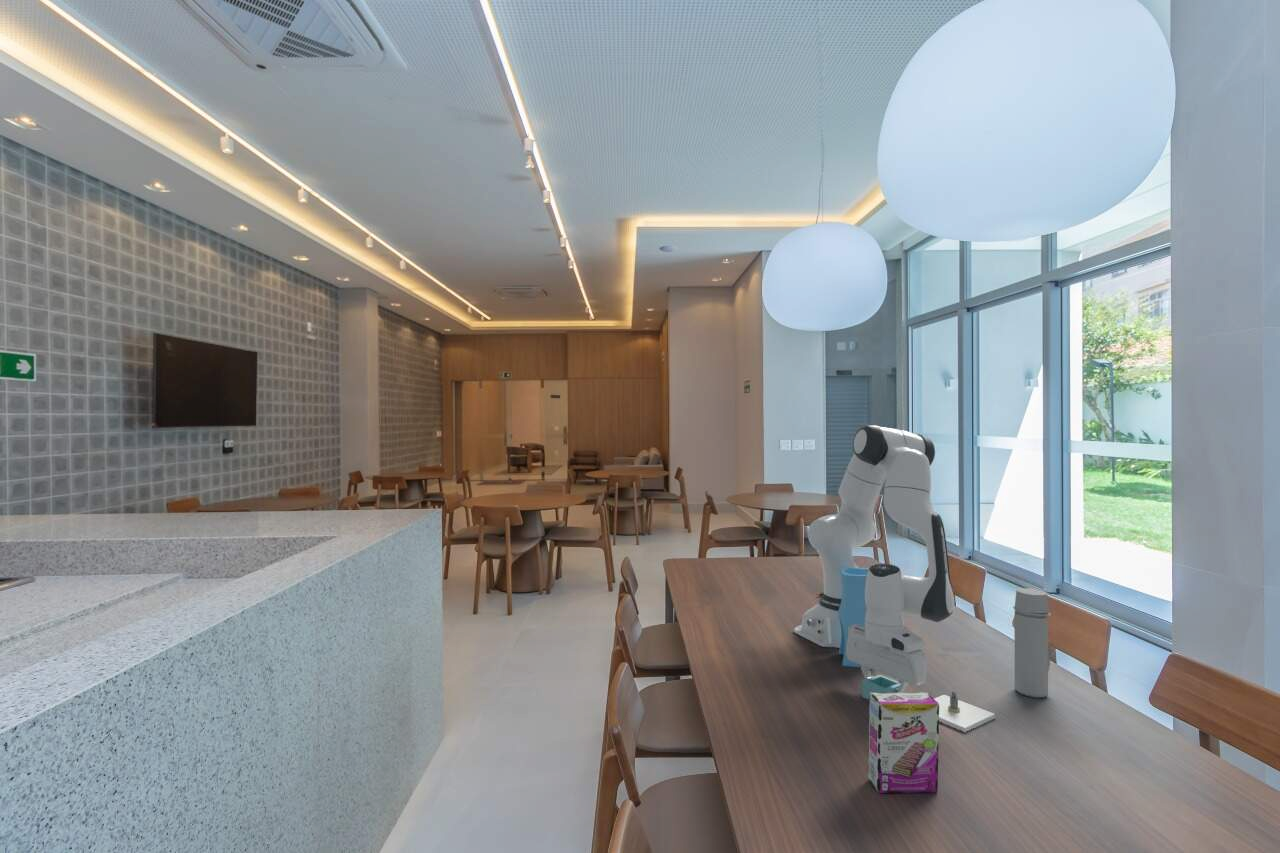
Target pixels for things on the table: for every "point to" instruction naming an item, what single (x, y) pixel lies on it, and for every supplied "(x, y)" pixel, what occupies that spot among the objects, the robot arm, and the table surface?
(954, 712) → the post stand
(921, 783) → the candy bar box
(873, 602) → the robot arm
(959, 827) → the table surface
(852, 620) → the vase
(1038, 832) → the table surface
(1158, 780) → the table surface
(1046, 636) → the water bottle
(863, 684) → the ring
